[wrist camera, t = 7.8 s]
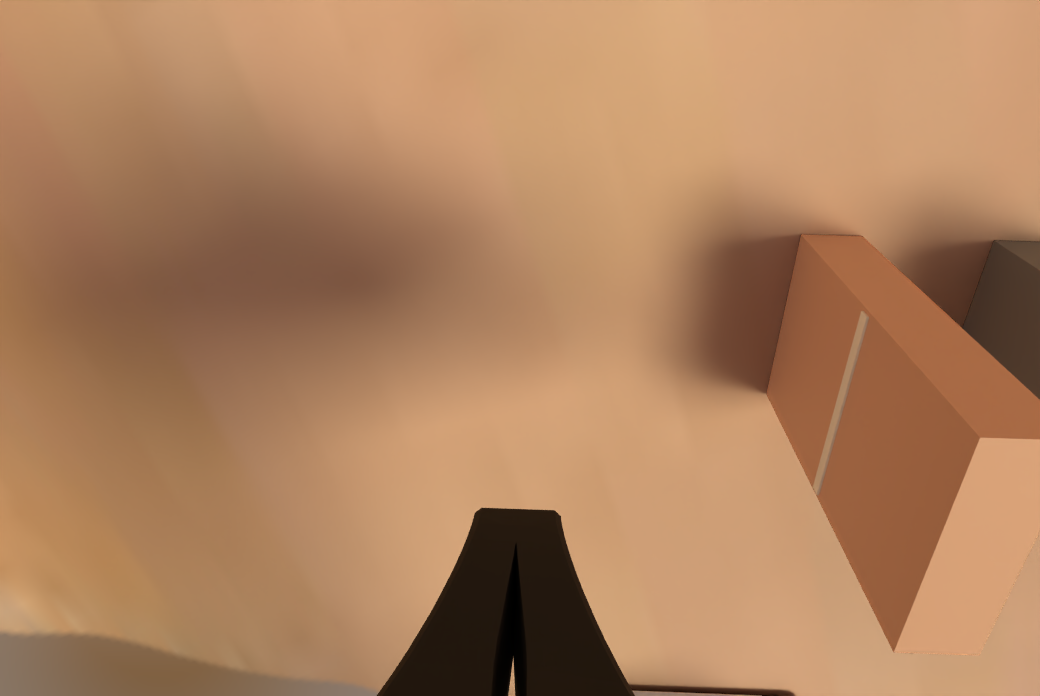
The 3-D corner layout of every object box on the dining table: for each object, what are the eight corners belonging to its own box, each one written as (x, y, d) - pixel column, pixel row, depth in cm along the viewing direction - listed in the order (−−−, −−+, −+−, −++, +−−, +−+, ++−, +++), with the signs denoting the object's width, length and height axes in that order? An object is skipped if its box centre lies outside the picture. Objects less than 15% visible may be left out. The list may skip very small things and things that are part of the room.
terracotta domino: (822, 395, 22) (981, 655, 14) (764, 394, 22) (891, 651, 14) (864, 235, 19) (1087, 440, 11) (799, 234, 19) (976, 437, 11)
